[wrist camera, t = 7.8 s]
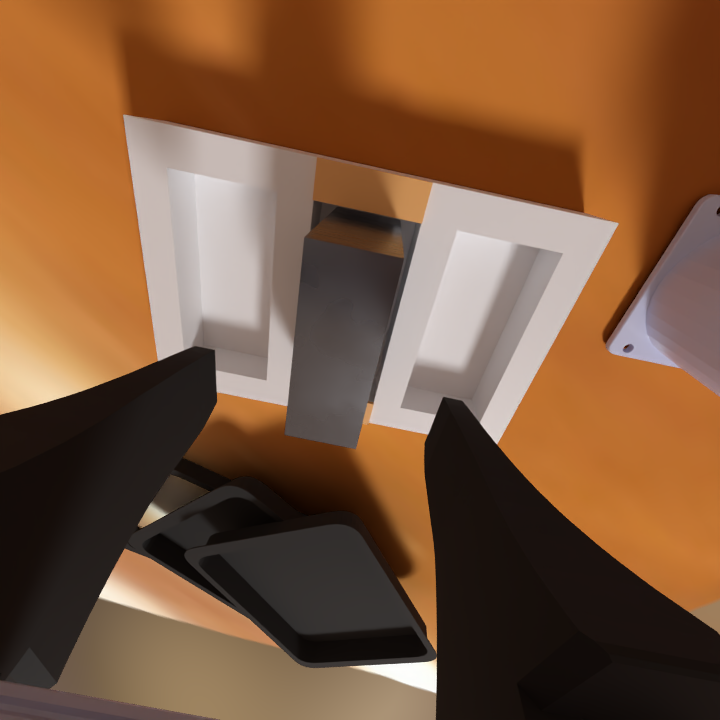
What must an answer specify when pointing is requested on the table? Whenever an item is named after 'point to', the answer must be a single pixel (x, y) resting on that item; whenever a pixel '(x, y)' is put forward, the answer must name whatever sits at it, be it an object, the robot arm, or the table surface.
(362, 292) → the panel
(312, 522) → the tray
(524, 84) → the table surface
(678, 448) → the table surface
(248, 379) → the tray
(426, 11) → the table surface
